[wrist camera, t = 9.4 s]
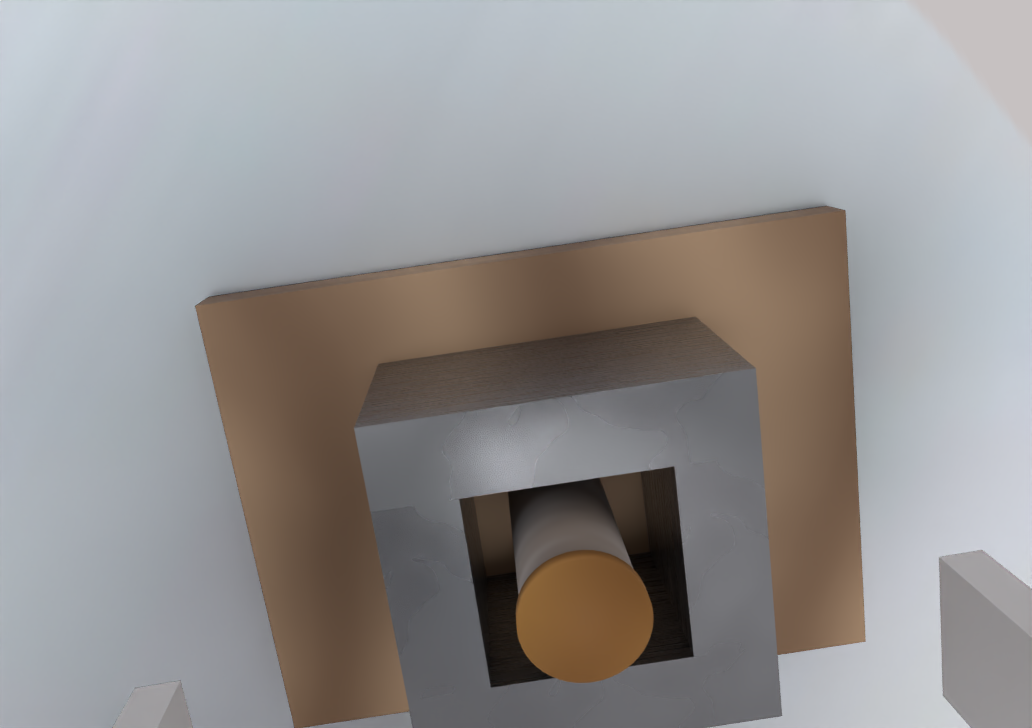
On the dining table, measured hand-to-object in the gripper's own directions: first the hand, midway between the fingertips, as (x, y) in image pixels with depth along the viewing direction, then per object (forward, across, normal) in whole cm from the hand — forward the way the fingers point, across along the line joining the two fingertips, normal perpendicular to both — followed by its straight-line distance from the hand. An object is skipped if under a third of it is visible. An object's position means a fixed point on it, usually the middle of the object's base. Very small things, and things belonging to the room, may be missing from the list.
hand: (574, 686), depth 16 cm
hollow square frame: (+8, +1, 0) cm, 9 cm away
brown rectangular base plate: (+10, +1, 0) cm, 10 cm away
